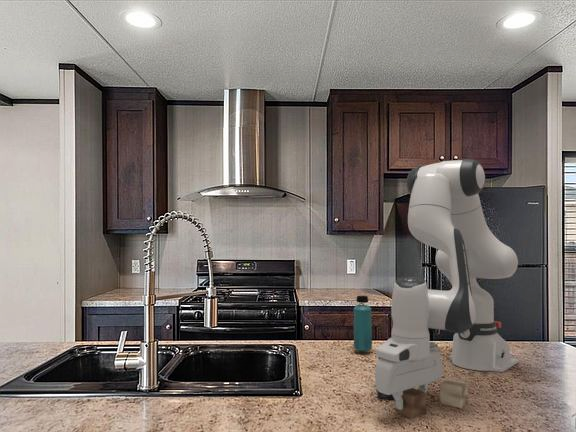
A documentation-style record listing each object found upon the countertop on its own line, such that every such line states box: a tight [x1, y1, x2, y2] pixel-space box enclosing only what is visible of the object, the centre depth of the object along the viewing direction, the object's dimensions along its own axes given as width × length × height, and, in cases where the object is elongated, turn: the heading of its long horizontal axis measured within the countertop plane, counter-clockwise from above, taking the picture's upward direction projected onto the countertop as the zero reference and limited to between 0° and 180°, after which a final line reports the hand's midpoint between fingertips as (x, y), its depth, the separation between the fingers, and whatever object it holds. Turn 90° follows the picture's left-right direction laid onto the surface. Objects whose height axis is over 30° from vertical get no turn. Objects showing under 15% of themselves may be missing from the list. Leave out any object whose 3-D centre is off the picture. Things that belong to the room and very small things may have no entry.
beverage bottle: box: [353, 295, 373, 352], centre depth 162 cm, size 6×7×20 cm
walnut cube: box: [394, 388, 427, 419], centre depth 109 cm, size 5×5×5 cm
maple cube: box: [439, 378, 469, 409], centre depth 115 cm, size 5×5×5 cm
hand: (410, 405), depth 109 cm, fingers open, 5 cm apart
